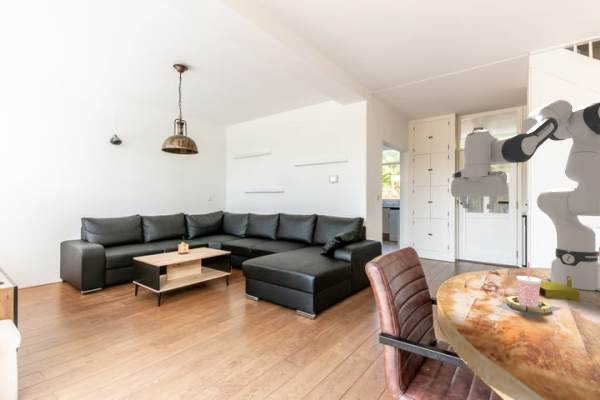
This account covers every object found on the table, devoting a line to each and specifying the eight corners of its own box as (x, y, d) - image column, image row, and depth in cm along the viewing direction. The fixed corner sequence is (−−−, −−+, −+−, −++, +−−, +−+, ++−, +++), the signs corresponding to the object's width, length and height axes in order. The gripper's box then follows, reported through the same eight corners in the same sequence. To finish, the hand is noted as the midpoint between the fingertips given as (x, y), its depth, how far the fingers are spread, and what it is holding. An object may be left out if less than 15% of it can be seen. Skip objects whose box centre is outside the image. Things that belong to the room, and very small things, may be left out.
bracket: (510, 269, 111) (553, 270, 109) (510, 288, 111) (553, 290, 109) (537, 280, 96) (587, 282, 94) (537, 303, 96) (587, 305, 94)
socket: (519, 299, 96) (519, 294, 96) (557, 310, 86) (557, 304, 86) (500, 304, 91) (500, 299, 91) (538, 316, 82) (538, 310, 82)
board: (524, 300, 97) (524, 297, 97) (561, 311, 88) (561, 308, 88) (495, 308, 90) (495, 305, 90) (532, 321, 81) (532, 317, 81)
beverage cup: (511, 303, 92) (511, 260, 92) (528, 303, 92) (528, 260, 92) (527, 311, 86) (528, 265, 86) (546, 310, 86) (546, 264, 86)
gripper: (512, 170, 101) (512, 209, 101) (458, 175, 120) (458, 207, 120) (501, 170, 98) (501, 209, 99) (448, 174, 117) (448, 208, 117)
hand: (477, 208), depth 109 cm, fingers open, 8 cm apart
